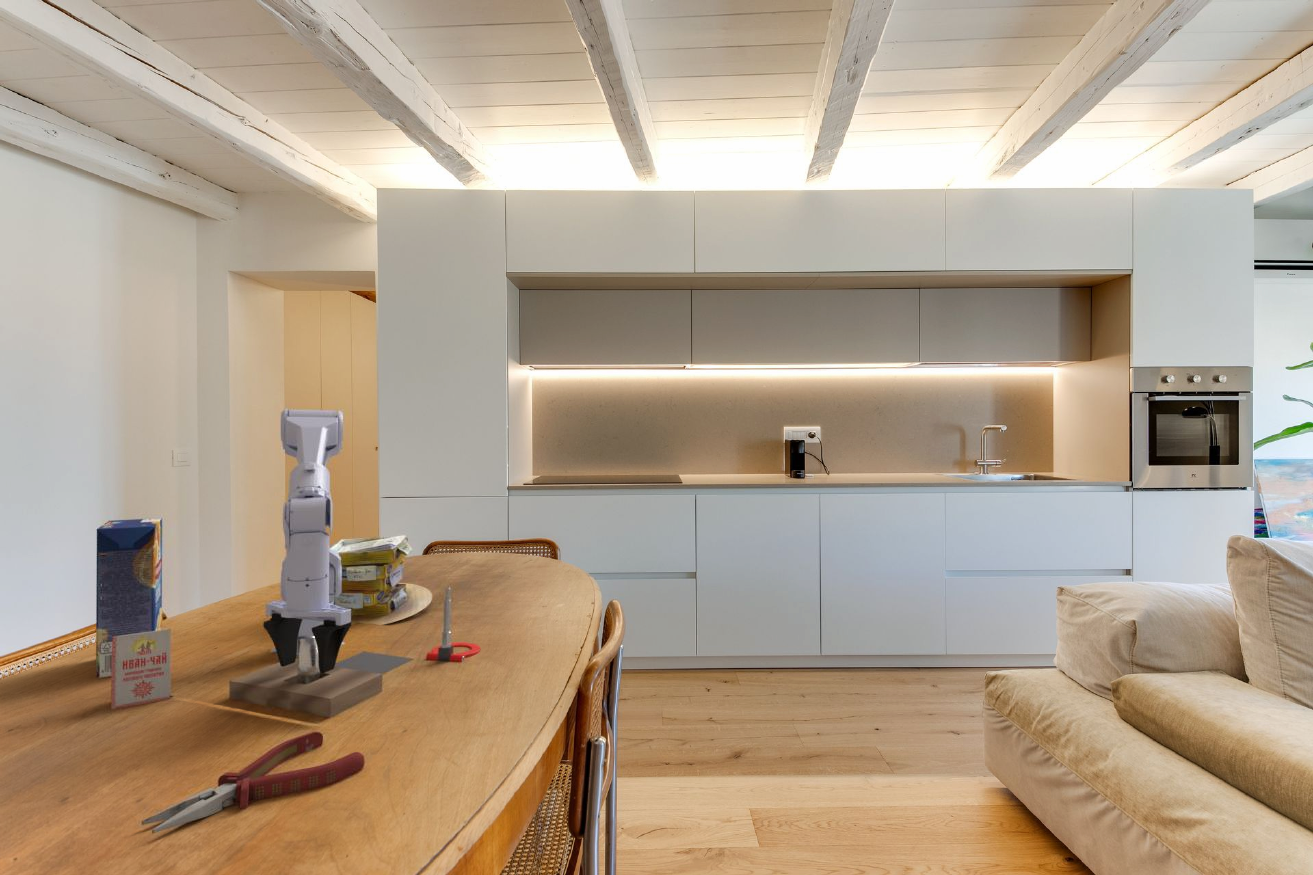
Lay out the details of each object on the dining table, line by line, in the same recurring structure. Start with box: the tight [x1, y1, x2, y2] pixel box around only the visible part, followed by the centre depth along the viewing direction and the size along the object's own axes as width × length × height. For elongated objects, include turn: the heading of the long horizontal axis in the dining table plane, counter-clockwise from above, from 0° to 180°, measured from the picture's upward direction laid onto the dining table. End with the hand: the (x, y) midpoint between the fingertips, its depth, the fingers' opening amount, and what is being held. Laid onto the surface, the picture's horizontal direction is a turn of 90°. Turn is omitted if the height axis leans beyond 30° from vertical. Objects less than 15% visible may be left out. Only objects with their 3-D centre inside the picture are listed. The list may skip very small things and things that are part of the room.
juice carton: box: [95, 517, 163, 679], centre depth 113 cm, size 12×8×24 cm, turn 32°
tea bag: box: [110, 628, 172, 710], centre depth 97 cm, size 4×7×10 cm, turn 126°
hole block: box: [228, 660, 383, 719], centre depth 99 cm, size 19×10×3 cm, turn 71°
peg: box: [297, 634, 320, 685], centre depth 99 cm, size 3×3×9 cm
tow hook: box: [425, 587, 481, 663], centre depth 119 cm, size 8×13×9 cm
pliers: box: [141, 731, 366, 834], centre depth 73 cm, size 12×20×3 cm, turn 145°
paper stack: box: [329, 534, 433, 626], centre depth 146 cm, size 25×25×17 cm
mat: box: [335, 651, 414, 675], centre depth 111 cm, size 11×11×1 cm
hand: (307, 667), depth 99 cm, fingers open, 7 cm apart
